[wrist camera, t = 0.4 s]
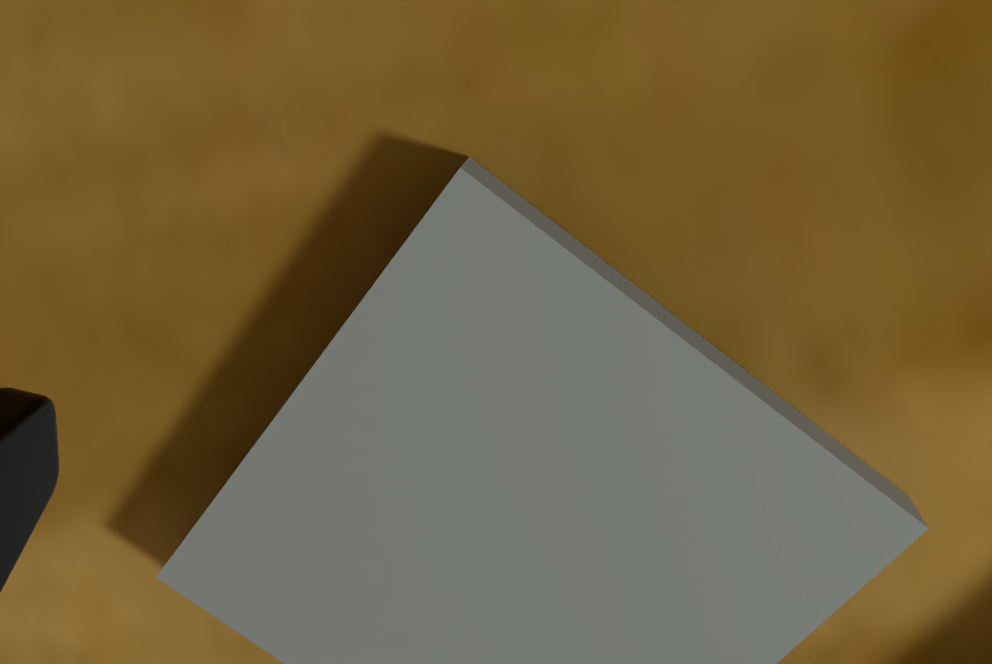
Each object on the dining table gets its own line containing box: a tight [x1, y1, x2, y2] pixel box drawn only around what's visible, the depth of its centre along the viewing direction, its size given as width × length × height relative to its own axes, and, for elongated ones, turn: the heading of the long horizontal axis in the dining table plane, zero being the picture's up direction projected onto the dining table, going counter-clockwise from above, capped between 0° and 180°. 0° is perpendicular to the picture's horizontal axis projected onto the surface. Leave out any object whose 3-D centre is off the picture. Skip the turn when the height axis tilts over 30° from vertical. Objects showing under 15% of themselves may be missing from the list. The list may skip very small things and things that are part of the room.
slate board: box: [156, 157, 929, 664], centre depth 25 cm, size 14×14×2 cm
